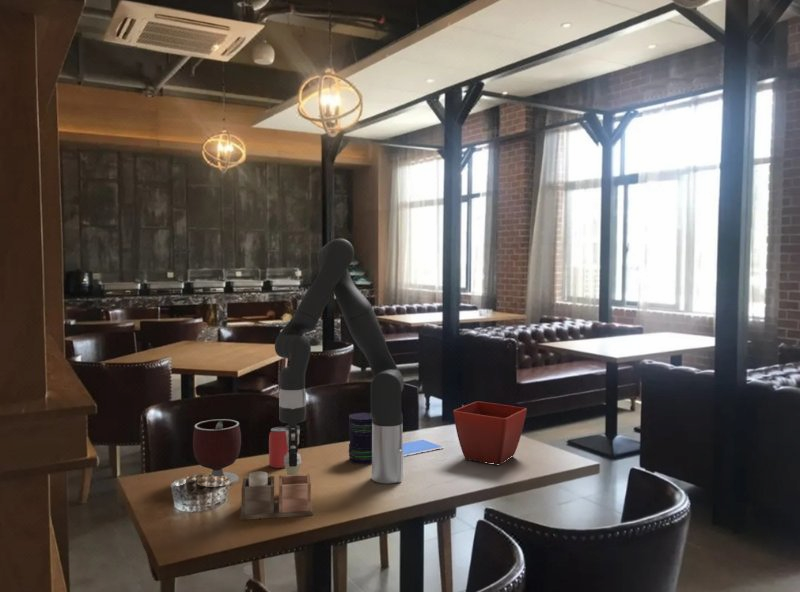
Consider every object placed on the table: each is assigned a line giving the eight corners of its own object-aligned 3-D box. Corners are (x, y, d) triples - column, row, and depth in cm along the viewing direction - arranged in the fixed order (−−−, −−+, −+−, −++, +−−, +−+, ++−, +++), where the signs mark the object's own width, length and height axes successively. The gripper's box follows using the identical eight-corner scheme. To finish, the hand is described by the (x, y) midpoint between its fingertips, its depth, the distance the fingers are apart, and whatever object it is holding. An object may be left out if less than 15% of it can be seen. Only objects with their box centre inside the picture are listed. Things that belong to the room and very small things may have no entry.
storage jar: (367, 466, 209) (367, 420, 208) (342, 461, 214) (342, 416, 213) (384, 458, 217) (384, 414, 217) (360, 454, 222) (360, 411, 222)
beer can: (265, 467, 207) (264, 430, 207) (276, 461, 213) (276, 425, 213) (282, 470, 205) (282, 432, 204) (293, 464, 211) (293, 427, 210)
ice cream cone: (284, 488, 188) (284, 437, 187) (302, 488, 188) (302, 437, 187) (283, 495, 183) (282, 442, 182) (301, 494, 183) (301, 442, 182)
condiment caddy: (311, 502, 177) (311, 466, 177) (312, 515, 168) (312, 477, 168) (241, 506, 174) (241, 469, 173) (239, 519, 165) (239, 481, 164)
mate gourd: (190, 476, 198) (190, 411, 197) (237, 471, 203) (236, 408, 203) (196, 493, 184) (195, 423, 183) (245, 486, 189) (245, 419, 188)
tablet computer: (399, 459, 219) (399, 455, 218) (379, 450, 229) (379, 447, 229) (444, 450, 230) (444, 446, 230) (422, 442, 240) (422, 438, 240)
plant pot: (527, 456, 222) (528, 407, 221) (504, 470, 205) (505, 418, 205) (476, 447, 232) (477, 400, 231) (451, 460, 216) (451, 410, 215)
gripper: (279, 399, 190) (279, 456, 191) (279, 410, 176) (279, 471, 177) (305, 398, 192) (305, 455, 193) (307, 409, 178) (307, 470, 179)
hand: (292, 462), depth 185 cm, fingers closed on ice cream cone, 5 cm apart
